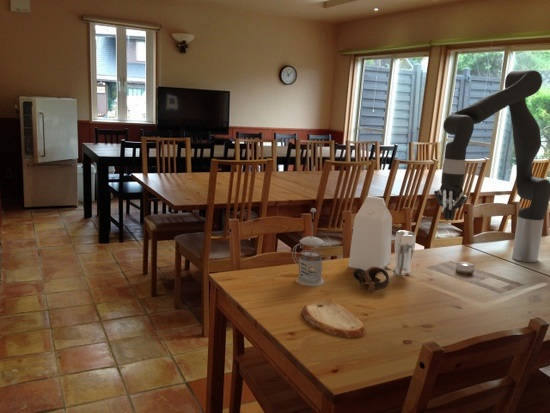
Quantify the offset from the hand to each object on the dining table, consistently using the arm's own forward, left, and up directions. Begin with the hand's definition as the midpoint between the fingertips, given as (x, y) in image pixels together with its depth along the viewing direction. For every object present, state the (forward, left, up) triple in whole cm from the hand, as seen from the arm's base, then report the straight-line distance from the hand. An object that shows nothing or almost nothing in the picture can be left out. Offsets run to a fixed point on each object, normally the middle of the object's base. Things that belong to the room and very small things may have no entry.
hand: (448, 218), depth 179 cm
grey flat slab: (0, +12, -19) cm, 23 cm away
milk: (+22, -16, -19) cm, 33 cm away
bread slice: (+66, +12, -20) cm, 70 cm away
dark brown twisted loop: (+38, 0, -19) cm, 43 cm away
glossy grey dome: (0, +9, -18) cm, 20 cm away
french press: (+52, -16, -19) cm, 58 cm away
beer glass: (+18, -4, -19) cm, 27 cm away
